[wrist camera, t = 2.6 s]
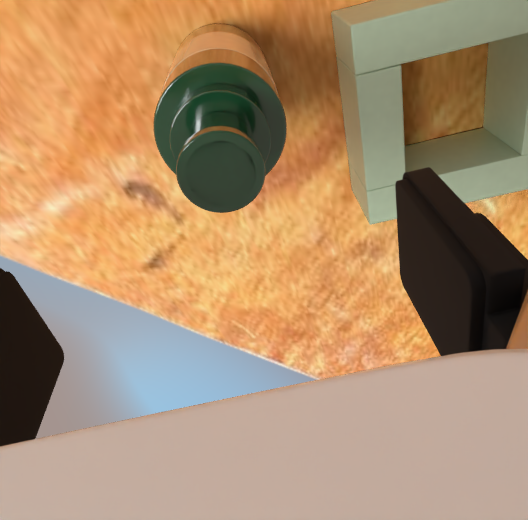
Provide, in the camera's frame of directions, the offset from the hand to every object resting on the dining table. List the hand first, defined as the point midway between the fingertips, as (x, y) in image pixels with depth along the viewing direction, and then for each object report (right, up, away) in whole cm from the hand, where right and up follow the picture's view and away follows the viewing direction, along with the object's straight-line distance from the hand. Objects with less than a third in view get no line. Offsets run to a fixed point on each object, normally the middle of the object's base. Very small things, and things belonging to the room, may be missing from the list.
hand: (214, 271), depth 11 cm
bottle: (-1, +10, +14) cm, 18 cm away
